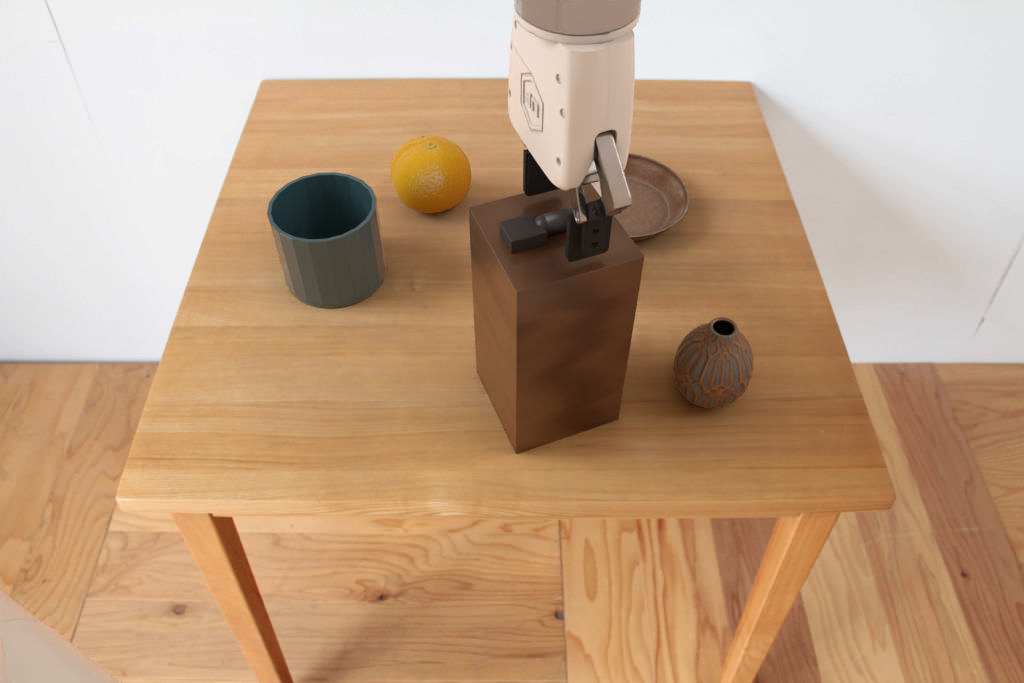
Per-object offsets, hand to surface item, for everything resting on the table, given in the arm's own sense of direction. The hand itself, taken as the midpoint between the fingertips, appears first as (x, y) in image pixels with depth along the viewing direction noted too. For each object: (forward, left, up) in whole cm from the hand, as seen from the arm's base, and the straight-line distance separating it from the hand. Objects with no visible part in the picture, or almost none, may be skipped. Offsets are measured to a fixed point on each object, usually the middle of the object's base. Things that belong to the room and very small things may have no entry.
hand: (564, 220), depth 63 cm
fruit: (-2, +30, -21) cm, 37 cm away
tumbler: (-15, +23, -21) cm, 34 cm away
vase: (+13, -5, -21) cm, 25 cm away
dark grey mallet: (-1, 0, -1) cm, 1 cm away
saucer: (+17, +21, -21) cm, 34 cm away
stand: (-1, 0, -21) cm, 21 cm away
